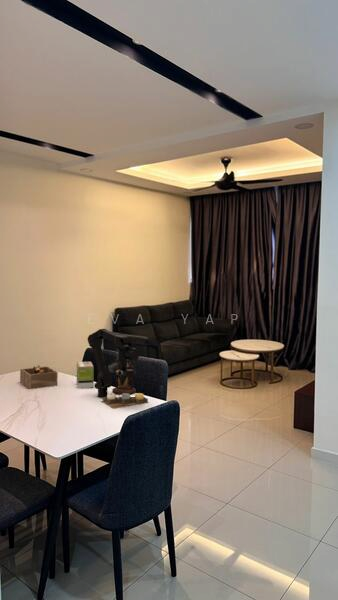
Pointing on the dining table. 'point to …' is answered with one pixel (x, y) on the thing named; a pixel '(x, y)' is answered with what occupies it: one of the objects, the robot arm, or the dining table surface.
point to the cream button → (111, 396)
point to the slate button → (125, 396)
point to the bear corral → (38, 378)
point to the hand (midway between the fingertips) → (121, 385)
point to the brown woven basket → (124, 385)
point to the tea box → (85, 374)
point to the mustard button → (139, 396)
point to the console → (123, 402)
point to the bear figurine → (38, 370)
